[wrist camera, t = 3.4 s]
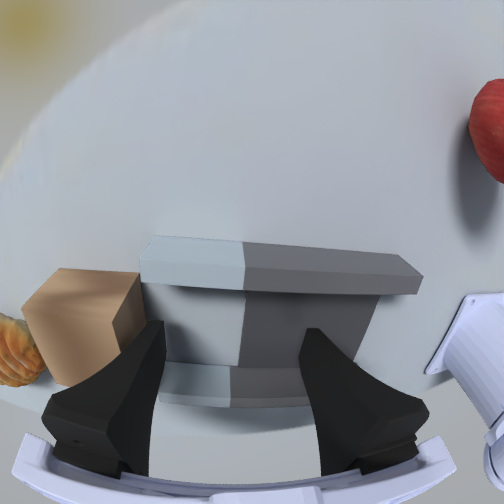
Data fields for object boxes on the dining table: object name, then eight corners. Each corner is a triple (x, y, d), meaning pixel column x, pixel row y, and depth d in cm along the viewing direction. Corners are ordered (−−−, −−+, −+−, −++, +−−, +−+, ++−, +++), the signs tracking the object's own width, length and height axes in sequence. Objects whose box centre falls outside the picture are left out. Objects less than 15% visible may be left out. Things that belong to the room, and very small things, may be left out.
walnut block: (139, 272, 13) (111, 322, 9) (152, 347, 15) (137, 400, 11) (59, 268, 12) (20, 308, 8) (80, 338, 14) (56, 383, 10)
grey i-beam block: (398, 254, 13) (423, 276, 11) (351, 372, 17) (363, 398, 15) (154, 235, 12) (139, 258, 10) (165, 371, 15) (159, 401, 13)
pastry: (19, 292, 13) (-11, 325, 9) (72, 366, 16) (55, 404, 12) (-26, 315, 13) (-47, 340, 10) (16, 373, 16) (0, 400, 12)
